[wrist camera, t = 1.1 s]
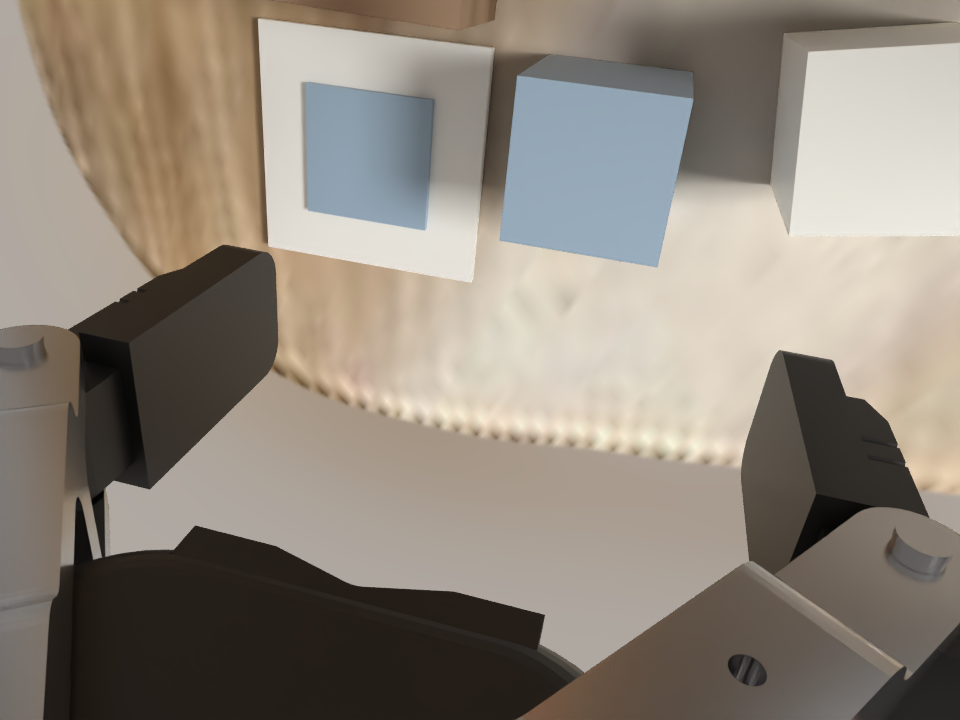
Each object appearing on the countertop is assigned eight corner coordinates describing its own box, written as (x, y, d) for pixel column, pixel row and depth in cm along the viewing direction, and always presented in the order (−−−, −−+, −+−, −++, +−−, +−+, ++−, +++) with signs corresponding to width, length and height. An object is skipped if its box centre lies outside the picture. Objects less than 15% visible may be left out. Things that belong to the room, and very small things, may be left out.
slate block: (693, 72, 26) (693, 98, 21) (663, 212, 29) (657, 267, 24) (550, 53, 27) (516, 75, 22) (532, 191, 30) (499, 240, 24)
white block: (953, 21, 24) (1027, 38, 19) (925, 181, 26) (984, 235, 21) (783, 32, 25) (808, 51, 20) (770, 184, 27) (789, 236, 22)
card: (494, 47, 27) (490, 49, 27) (473, 279, 32) (469, 285, 31) (263, 17, 29) (254, 19, 28) (273, 243, 33) (265, 248, 33)
